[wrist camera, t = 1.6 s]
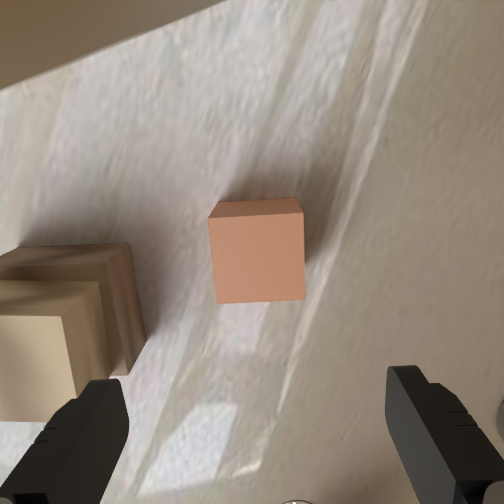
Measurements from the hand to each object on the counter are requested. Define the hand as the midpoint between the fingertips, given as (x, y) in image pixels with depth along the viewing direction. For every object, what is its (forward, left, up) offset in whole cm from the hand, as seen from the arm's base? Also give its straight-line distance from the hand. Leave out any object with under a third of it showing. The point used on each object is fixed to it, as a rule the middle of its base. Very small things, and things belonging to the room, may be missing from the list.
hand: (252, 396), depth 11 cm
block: (0, 0, -16) cm, 16 cm away
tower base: (+14, +4, -16) cm, 22 cm away
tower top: (+14, +4, -12) cm, 19 cm away
